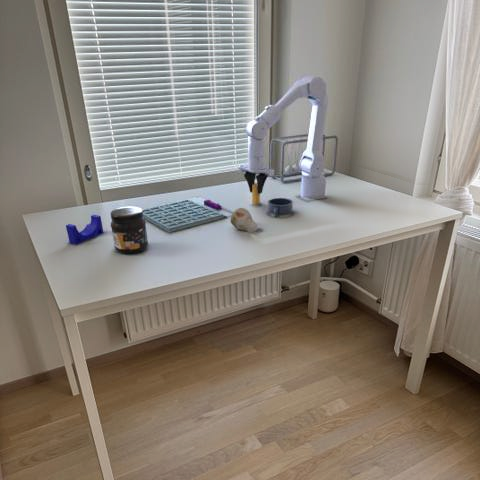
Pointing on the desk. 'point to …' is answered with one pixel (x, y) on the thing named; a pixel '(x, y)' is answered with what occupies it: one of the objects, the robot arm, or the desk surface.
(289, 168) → the newton's cradle
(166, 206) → the calendar
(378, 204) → the desk surface
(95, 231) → the cable clip
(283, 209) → the cup
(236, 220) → the rock
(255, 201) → the peg
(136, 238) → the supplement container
